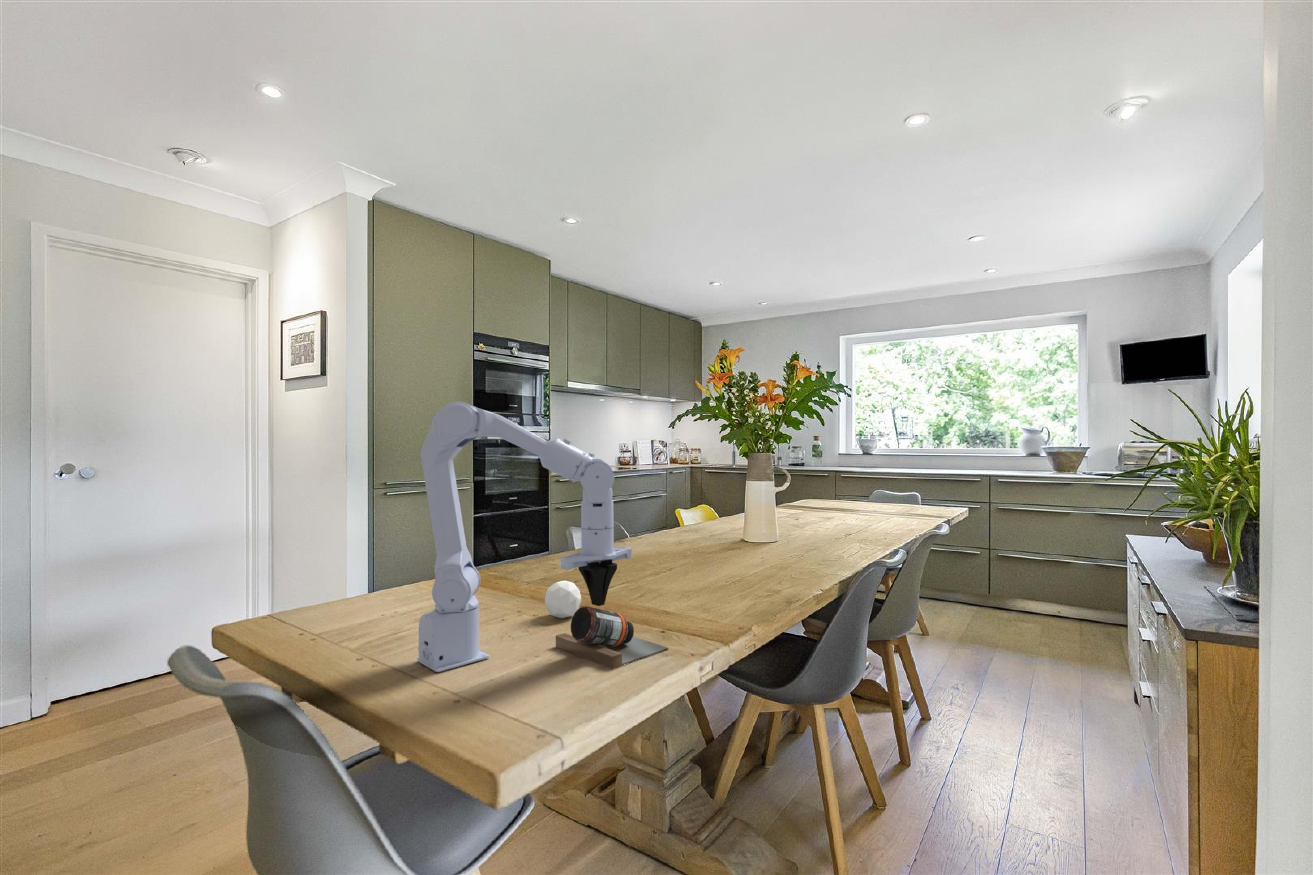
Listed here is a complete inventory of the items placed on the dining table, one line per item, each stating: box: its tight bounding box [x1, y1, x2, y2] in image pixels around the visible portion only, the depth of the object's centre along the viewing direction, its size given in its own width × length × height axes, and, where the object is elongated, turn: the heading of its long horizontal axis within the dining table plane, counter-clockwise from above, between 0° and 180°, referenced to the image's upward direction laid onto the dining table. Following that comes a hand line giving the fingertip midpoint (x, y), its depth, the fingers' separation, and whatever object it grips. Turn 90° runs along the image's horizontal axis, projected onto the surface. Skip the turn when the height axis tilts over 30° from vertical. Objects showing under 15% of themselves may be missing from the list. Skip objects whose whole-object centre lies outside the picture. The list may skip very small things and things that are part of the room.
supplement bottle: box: [570, 606, 635, 647], centre depth 106 cm, size 6×6×11 cm
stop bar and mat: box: [555, 632, 669, 670], centre depth 107 cm, size 13×16×2 cm
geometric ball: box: [544, 580, 582, 619], centre depth 128 cm, size 8×8×8 cm
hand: (598, 604), depth 105 cm, fingers closed
